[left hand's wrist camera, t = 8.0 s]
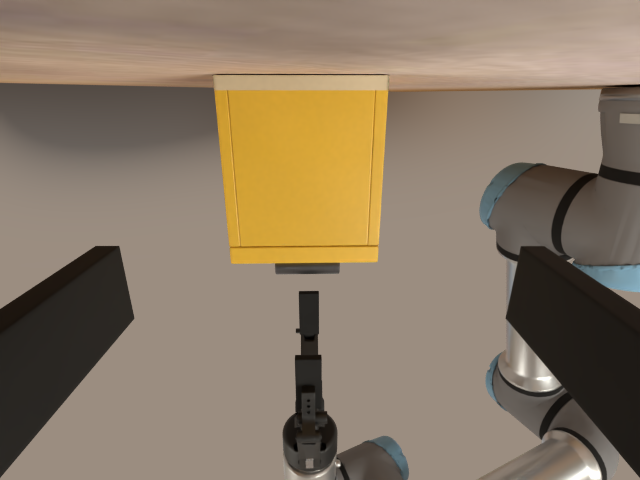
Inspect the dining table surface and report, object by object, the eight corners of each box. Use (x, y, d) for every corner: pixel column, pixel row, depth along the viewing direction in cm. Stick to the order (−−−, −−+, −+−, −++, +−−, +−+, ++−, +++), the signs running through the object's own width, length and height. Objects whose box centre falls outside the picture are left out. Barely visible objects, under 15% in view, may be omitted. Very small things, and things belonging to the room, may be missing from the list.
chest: (355, 84, 37) (352, 187, 41) (255, 84, 37) (261, 188, 40) (389, 75, 21) (379, 245, 25) (212, 75, 21) (228, 247, 25)
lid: (351, 187, 41) (349, 263, 44) (261, 187, 41) (266, 264, 44) (378, 246, 25) (371, 360, 28) (229, 247, 25) (240, 362, 28)
